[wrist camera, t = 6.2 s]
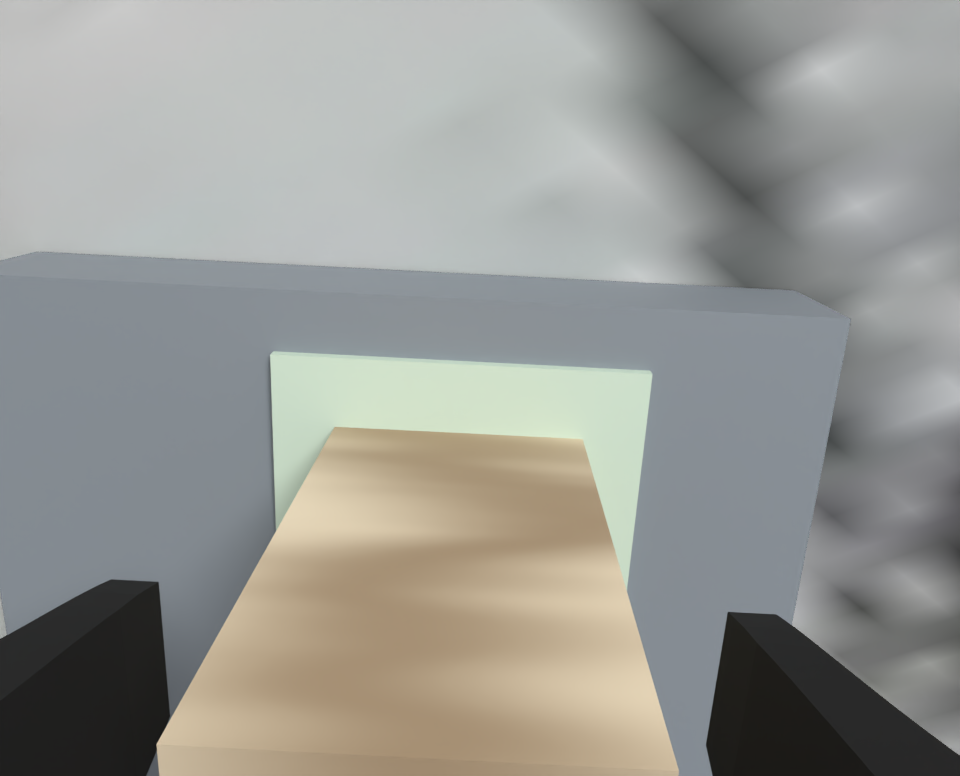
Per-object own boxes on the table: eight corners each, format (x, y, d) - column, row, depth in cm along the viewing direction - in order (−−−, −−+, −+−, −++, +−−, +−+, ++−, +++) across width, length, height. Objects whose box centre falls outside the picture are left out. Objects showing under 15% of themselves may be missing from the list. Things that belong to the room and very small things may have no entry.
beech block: (582, 438, 13) (679, 770, 6) (563, 650, 14) (626, 1123, 7) (334, 426, 13) (156, 743, 6) (337, 639, 14) (190, 1100, 7)
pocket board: (794, 290, 15) (856, 321, 12) (685, 936, 19) (712, 1054, 17) (36, 251, 15) (-58, 274, 12) (115, 906, 19) (59, 1018, 17)
